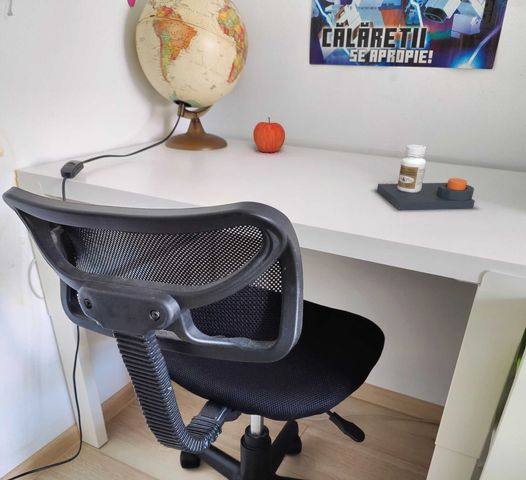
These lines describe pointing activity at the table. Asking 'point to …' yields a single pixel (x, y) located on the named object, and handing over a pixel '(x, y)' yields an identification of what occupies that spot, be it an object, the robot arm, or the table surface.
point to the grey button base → (428, 197)
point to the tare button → (456, 184)
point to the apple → (269, 136)
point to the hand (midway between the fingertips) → (510, 26)
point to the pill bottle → (412, 169)
